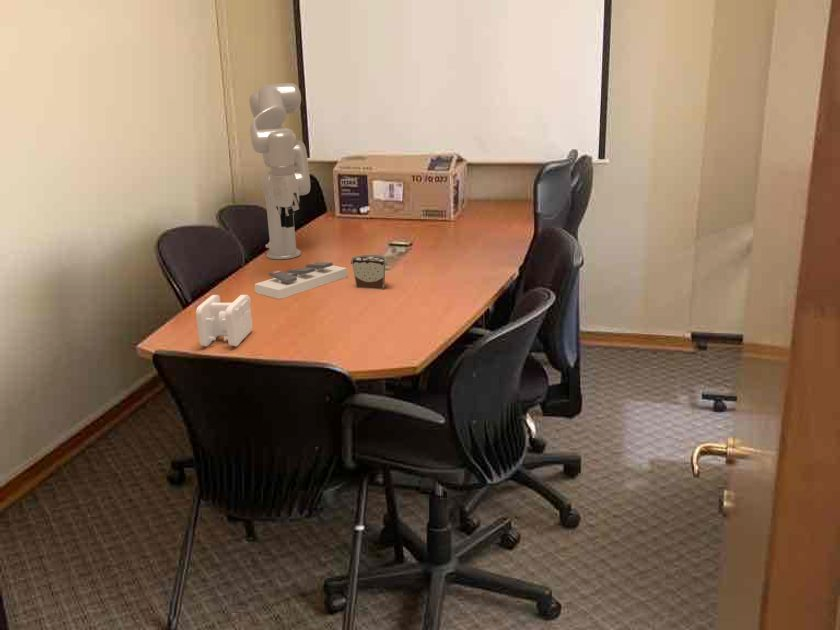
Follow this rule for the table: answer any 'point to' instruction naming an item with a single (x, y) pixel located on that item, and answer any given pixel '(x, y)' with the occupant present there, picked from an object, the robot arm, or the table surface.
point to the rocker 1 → (282, 276)
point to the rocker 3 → (319, 265)
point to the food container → (369, 271)
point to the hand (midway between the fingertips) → (287, 226)
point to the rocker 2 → (301, 270)
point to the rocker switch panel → (300, 282)
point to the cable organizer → (224, 320)
